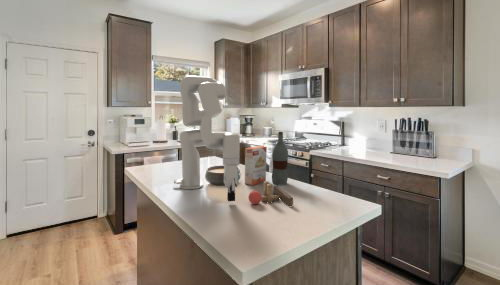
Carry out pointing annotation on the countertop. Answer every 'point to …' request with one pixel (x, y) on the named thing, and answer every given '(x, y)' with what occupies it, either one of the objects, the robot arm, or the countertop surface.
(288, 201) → the dark wooden bar
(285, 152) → the bottle
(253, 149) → the cracker box
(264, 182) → the pin
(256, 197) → the ball
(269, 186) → the pin
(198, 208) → the countertop surface
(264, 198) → the front pin
